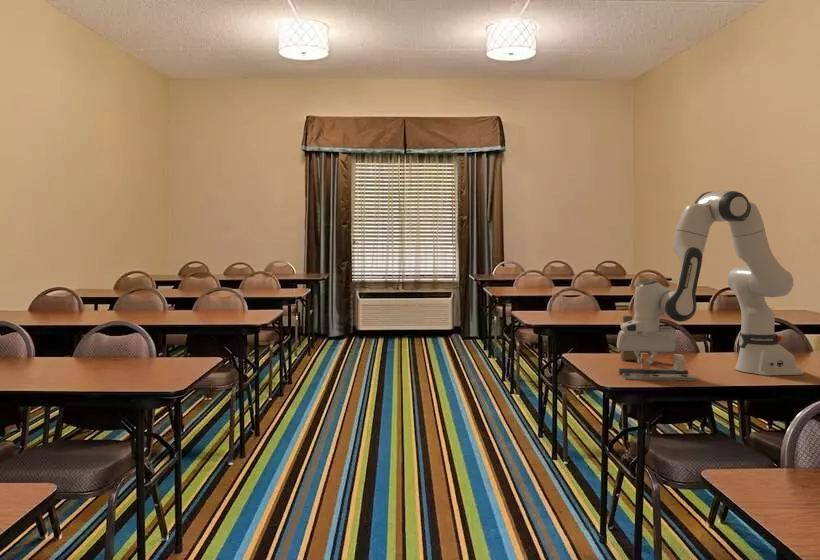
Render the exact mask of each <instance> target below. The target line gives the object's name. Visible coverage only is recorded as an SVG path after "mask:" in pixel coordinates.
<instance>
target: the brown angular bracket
mask: <svg viewBox="0 0 820 560" xmlns="http://www.w3.org/2000/svg"><path fill="white" fill-rule="evenodd" d="M632 320H633V315H623V316H622V323H625V322H629V321H632ZM641 353H648V354H650V355H651V351H640V354H638V355H639V357H640V358H641ZM620 356H621V357H620V359H621V360H622V359H623V360H638V358H637V357H636V355H635V351H620ZM623 360H622V361H623Z"/></svg>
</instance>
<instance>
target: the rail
mask: <svg viewBox="0 0 820 560" xmlns="http://www.w3.org/2000/svg"><path fill="white" fill-rule="evenodd" d="M686 364H687V360H685V355H683V354H682V353H681V354H680V353H673V367H672V368H667V369H666V368H650V370H643V369H642V368H618V374H619V375H622V373H631V374H688V373H689V370H688V369H685V367H684V366H685V365H686Z"/></svg>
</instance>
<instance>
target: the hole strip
mask: <svg viewBox="0 0 820 560" xmlns="http://www.w3.org/2000/svg"><path fill="white" fill-rule="evenodd" d="M621 375H622V376H621V377H622V378H623V379H624V380H626V379H628V381H630V380H629V379H635V380H634V381H675V380H688V381H687V382H696V378H697V377H695V376H694V375H693V374H691V373H690V374H631V373H622V374H621ZM637 379H638V380H637Z"/></svg>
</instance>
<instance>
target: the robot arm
mask: <svg viewBox="0 0 820 560" xmlns="http://www.w3.org/2000/svg"><path fill="white" fill-rule="evenodd" d="M714 222H719V223H720V222H727V223H728V224H729V226H730V231H731V236H732V237H731V238H732V242H733V246H734V250H735V254H736V256H737V257H738V258H739V259H741V260H742V261H743V262H744V263H745V264H746V265H741V266H737V267H733V268H732V269H731V270H730V271H729V273H728V275H727V279H726V280H727V285H728V287H729V289H730V290H731V291H732V292H733V293H734V295H735V297H736V299H737V301H738V304H739V308H740V314H741V315H740V316H741V317H740V321H741V322H740V323H741V325H740V326H741V327H740V332H739V339H738V340H739V341H738V344H739V352H738V357H737V361H736V364H735V367H734V369H735V370H737V371H739V372H743V373H747V374H749V373H750V374H754V375H755V374H756V375H760V376H797V375H798V376H799V375H803V374H804V371H803V370H802V369H800V368H799V367H797V360H796V357H795V356H794V354H792V353H791V352H790V351H789V350H787V349H786V348H785V347H783V346H782V345H781V344H780V342H784V340H785V336H783V335H777V334H776V333H775V323H776V322H775V320H776V319H775V318H776V317H775V316H776V315H775V312H774V311H773V309H772V308H771V307H770V306H769V305H768V303H767V302H766V298H779V297H785V296H787V295H789V294H790V293H791V291H792V289H793V288H794V278H793V276H792V275H793V274H792V273H791V272H790V271H788V270H787V269H785V268H784V267H783V266H782V264H780V263H779V261H778V260H777V259H776V257H775V256H774V254H773V252H772V250H771V247H770V244H769V242H768V241H769V240H768V237H767V233H766V228H765V225H764V220H763V218H762V215H761V212H760V211H759V208H758V206H757V205H756V204H755V203H754V202H751V201H749V199H748V197H747V196H746V195H744V194H743V193H741V192H739V191H735V190H717V191H706V192H704V193H702V194H700V195H699V196H698V197H697V198H696V200H695V201H694V203H690V204H688V205H686V206H685V207H684V209H683V211H682V212H681V215H680V217H679V219H678V222H677V225H676V228H675V231H674V234H673V239H672V249H673V252H674V254H675V255H676V256H677V257H678V259H679V262H680V271H679V275H678V281H677V284H676V289H675V290H673V289H670V288H668V287H666V286H664V285H662V284H661V283H660V282H658V281H656V280H647V281H642V282H639V283H638V284H637V285H636V287H635V289H634V290H635V291H634V299H633V300H634V301H633V308H634V314H633V319H632V321H629V322H625V323H623V322H622V323H620V329H621V330H619V332H618V334H617V340H616V348H617V350H618V351H620V352H621V351H635V355H636V357H637V358H638V360H637V364H640V365H641V363H643V362H642V361H643V359H642V358H640V357H639V355H638V354H640V351H650V352H651V354H652V355H650V360H651V361H652V363H650V365H653V364H654V361H655V358H656V356H657V355H658V352H662V353H663V352H669V353H672V352H674V351H675V350H676V339H675V337H676V335H677V334H676V329H675V328H674V327H672V326H671V325H660V316H665V317H667V318H670V319H672V320H673V321H675V322H678V323H679V322H680V323H681V322H687V321H689V320H690V319H691V318H693V316H694V315H695V314H696V312H697V299H696V298H697V297H696V296H697V295H696V293H697V288H698V283H699V278H700V274H701V267H702V261H703V258H704V257H703V256H704V253H705V252H704V251H705V248H706V247H705V246H706V243H707V240H708V236H709V232H710V228H711V226H712V225H713V224H714Z"/></svg>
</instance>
